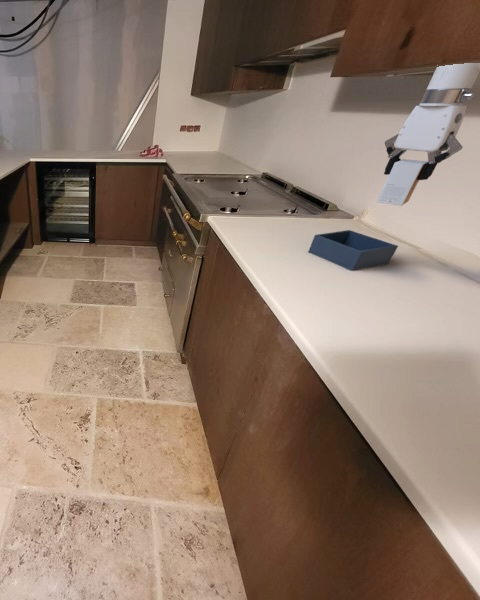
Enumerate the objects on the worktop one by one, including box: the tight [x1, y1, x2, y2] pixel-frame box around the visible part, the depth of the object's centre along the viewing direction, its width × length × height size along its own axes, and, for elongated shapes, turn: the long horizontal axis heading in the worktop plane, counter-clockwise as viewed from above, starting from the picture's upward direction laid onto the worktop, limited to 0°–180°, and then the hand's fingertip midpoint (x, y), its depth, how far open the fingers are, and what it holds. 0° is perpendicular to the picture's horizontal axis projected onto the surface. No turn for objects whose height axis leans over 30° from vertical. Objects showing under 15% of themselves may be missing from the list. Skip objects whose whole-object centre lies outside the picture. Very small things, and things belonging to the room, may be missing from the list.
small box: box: [376, 158, 428, 207], centre depth 86 cm, size 8×6×10 cm
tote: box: [307, 229, 399, 272], centre depth 99 cm, size 15×15×6 cm
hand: (404, 176), depth 86 cm, fingers closed on small box, 7 cm apart
